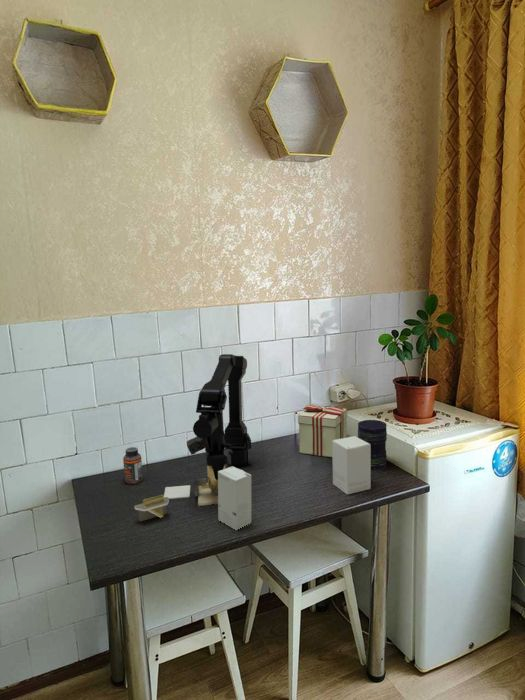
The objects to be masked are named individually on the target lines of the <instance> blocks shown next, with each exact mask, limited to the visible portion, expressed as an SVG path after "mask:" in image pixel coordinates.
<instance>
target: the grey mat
mask: <svg viewBox="0 0 525 700" xmlns="http://www.w3.org/2000/svg"><path fill="white" fill-rule="evenodd" d="M190 493H191V485H190V484H189V485H179V486H178V485H177V486H176V485H175V486H165V488H164V494H163V496H164V497H168V498H169V500H174V499H184V498H186V499H187V498H190V496H191V495H190Z"/></svg>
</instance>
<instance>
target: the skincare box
mask: <svg viewBox="0 0 525 700" xmlns="http://www.w3.org/2000/svg"><path fill="white" fill-rule="evenodd" d="M217 506H218V507H217V511H218V512H217V514H218V515H217V517H218V521H219V522H220V521H221V522H220V523H222V524H224V523H225V524H224V525H226V526H229V528H231V529H232V530H234V529H235V530H234V531H238V529H239V530H241V529H242V527H243V528H245V527H247V526H249V525H251V524H252V474H250V473H248V472H246V471H244V470H243V469H240V468H235V467H233V466H229V467H227V468H226V467H225V469H224V470H220V471H218V504H217ZM250 523H251V524H250ZM248 524H249V525H248ZM246 525H247V526H246ZM244 526H245V527H244ZM240 528H241V529H240Z"/></svg>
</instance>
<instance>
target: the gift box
mask: <svg viewBox="0 0 525 700" xmlns="http://www.w3.org/2000/svg"><path fill="white" fill-rule="evenodd" d="M302 409H303V410H304V411H303V412H302V413H299V414H298V416H297V424H298V434H299V435H298V438H299V453H300V454H304V455H305V454H306V455H310V456H311V455H312V456H319V457H326V458H327V457H328V458H333V457H332V441H333V440H337V439H342V438H347V437H348V436H347V435H348V434H347V433H348V432H347V431H348V430H347V429H348V427H347V425H348V424H347V418H348V409H347V408H343V407H339V406H331V407H328V406H320V405H317V404H314V403H313V404H312V403H311V404H309V403H308V404H306V405H305V406H304V407H303V408H302Z"/></svg>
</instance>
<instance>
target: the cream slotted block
mask: <svg viewBox="0 0 525 700" xmlns="http://www.w3.org/2000/svg"><path fill="white" fill-rule="evenodd" d="M206 483H207V477H203V478H194V481H193V484H194V486H193V487H194V497H197V501H198V502H197V504H198V507H200V506H213V505H212V504H214V505H218V490H211V489H209V488H206V489H201V484H206Z"/></svg>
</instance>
